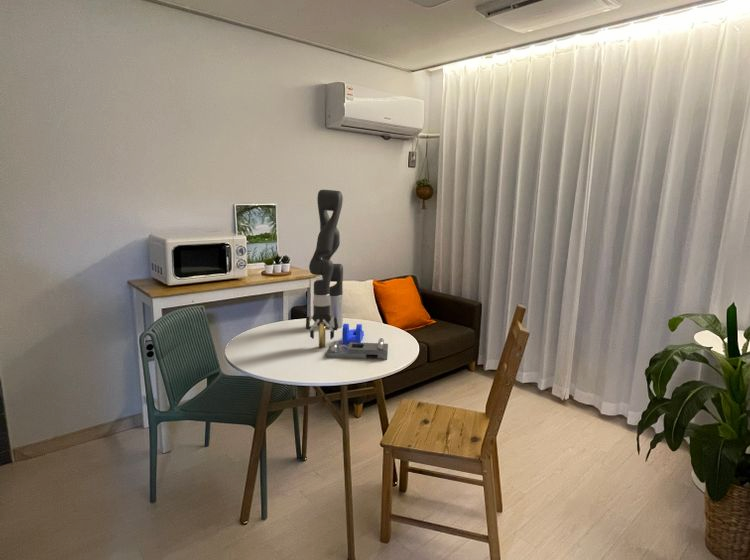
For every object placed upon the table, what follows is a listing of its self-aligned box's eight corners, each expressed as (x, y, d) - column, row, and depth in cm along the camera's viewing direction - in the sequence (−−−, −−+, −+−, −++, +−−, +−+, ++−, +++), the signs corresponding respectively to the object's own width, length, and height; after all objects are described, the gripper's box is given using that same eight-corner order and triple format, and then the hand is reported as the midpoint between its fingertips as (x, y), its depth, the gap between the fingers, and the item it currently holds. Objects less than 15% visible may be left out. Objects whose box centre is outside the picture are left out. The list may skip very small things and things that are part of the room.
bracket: (360, 345, 204) (360, 326, 202) (342, 344, 204) (342, 325, 203) (364, 333, 221) (364, 316, 220) (348, 332, 222) (348, 315, 220)
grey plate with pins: (329, 350, 196) (329, 336, 195) (387, 352, 195) (388, 338, 194) (325, 357, 188) (325, 342, 186) (387, 359, 186) (387, 345, 185)
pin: (319, 345, 202) (319, 320, 199) (326, 346, 201) (325, 320, 199) (318, 348, 199) (317, 322, 196) (324, 348, 199) (324, 322, 196)
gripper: (338, 302, 200) (338, 336, 203) (307, 301, 200) (308, 335, 203) (336, 306, 192) (336, 341, 195) (304, 305, 193) (304, 340, 196)
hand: (322, 338), depth 199 cm, fingers open, 8 cm apart
